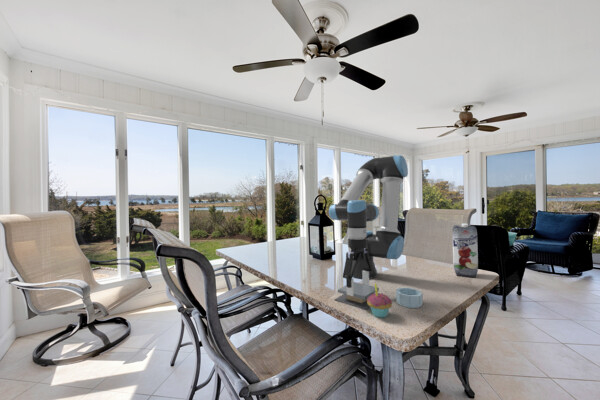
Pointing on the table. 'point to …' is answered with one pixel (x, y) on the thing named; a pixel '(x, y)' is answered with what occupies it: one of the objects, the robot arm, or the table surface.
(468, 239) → the juice carton
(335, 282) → the table surface
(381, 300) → the cupcake
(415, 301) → the bowl
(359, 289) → the sheet
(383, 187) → the robot arm
